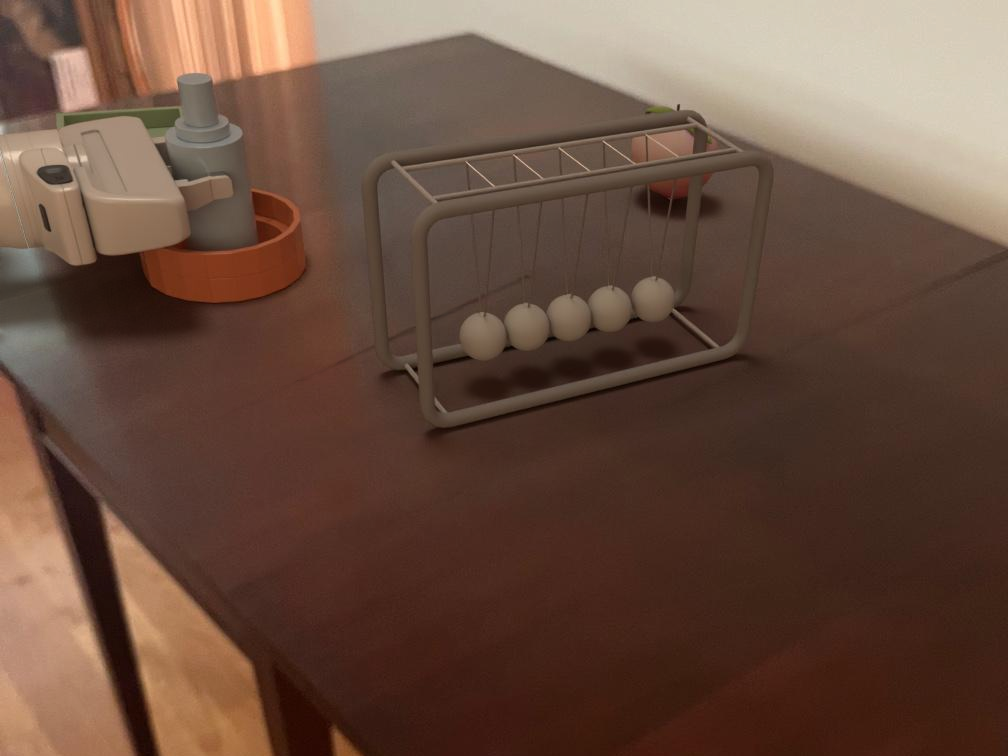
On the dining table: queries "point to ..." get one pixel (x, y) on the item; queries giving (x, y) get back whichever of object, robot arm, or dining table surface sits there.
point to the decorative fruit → (669, 154)
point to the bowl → (235, 260)
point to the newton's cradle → (567, 312)
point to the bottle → (211, 168)
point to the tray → (152, 118)
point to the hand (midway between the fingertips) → (220, 167)
